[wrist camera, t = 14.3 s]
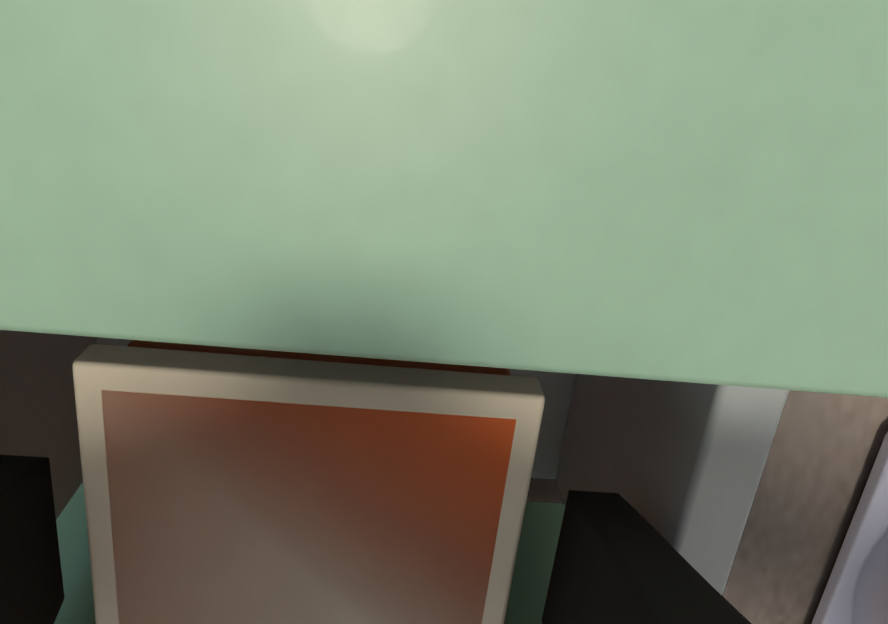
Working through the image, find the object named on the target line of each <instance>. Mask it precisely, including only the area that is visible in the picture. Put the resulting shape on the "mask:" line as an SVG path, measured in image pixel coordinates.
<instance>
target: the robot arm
mask: <svg viewBox="0 0 888 624" xmlns="http://www.w3.org/2000/svg"><path fill="white" fill-rule="evenodd" d="M64 598H65V597H64V588H63V579H62V570H61V561H60V552H59V543H58V534H57V525H56V516H55V507H54V498H53V489H52V480H51V471H50V462H49V458H48V457H32V456H16V455H0V624H54V622H55V620H56V617H57V615H58V613H59V610H60V608H61V605H62V603H63V601H64ZM542 624H751V623H750V622H749V621H748V620H747V619H746V618H745V617H744V616H743V615H741V614H740V613H739V612H738V611H737V610H736V609H735V608H734V607H733V606H732V605H731V604H730V603H729V602H728V601H727V600H726V599H725V598H724V597H723V596H722V595H721V594H720V593H719V592H718V591H717V590H715V589H714V588H713V587H712V586H711V585H710V584H709V583H708V582H707V581H706V580H705V579H704V578H703V577H702V576H701V575H700V574H699V573H698V572H697V571H696V570H695V569H694V568H693V567H692V566H691V565H690V564H689V563H688V562H687V561H686V560H685V559H684V558H683V557H682V556H681V555H680V554H679V553H678V552H677V551H676V550H675V549H674V548H673V547H672V546H671V545H670V544H669V543H668V542H667V541H666V540H665V539H664V538H663V537H662V536H661V535H660V534H659V533H658V532H657V531H656V530H655V529H654V528H653V527H652V526H651V525H650V524H649V523H648V522H647V521H646V520H645V519H644V518H643V517H642V516H641V515H640V514H639V513H638V512H637V511H636V510H635V509H634V508H633V507H632V506H631V505H630V504H629V503H628V502H627V501H626V500H625V499H624V498H623V497H622V496H621V495H619V494H618V493H607V492H591V491H575V490H569V492H568V496H567V501H566V506H565V511H564V515H563V520H562V525H561V530H560V535H559V539H558V544H557V549H556V554H555V559H554V563H553V568H552V573H551V578H550V583H549V587H548V592H547V597H546V602H545V606H544V611H543V616H542ZM812 624H888V432H887V433H886V435H885V437H884V440H883V442H882V445H881V447H880V450H879V453H878V455H877V458H876V460H875V463H874V465H873V468H872V470H871V473H870V476H869V478H868V481H867V483H866V486H865V488H864V491H863V493H862V496H861V498H860V501H859V504H858V506H857V509H856V511H855V514H854V516H853V519H852V521H851V524H850V527H849V529H848V532H847V534H846V537H845V539H844V542H843V544H842V547H841V550H840V552H839V555H838V557H837V560H836V562H835V565H834V567H833V570H832V573H831V575H830V578H829V580H828V583H827V585H826V588H825V590H824V593H823V596H822V598H821V601H820V603H819V606H818V608H817V611H816V613H815V616H814V618H813V621H812Z"/></svg>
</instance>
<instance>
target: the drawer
mask: <svg viewBox="0 0 888 624" xmlns="http://www.w3.org/2000/svg"><path fill="white" fill-rule="evenodd" d="M131 341H132V340H127V339H114V338H101V337H88V336H74V335H61V334H48V333H35V332H22V331H9V330H0V455H16V456H32V457H48V458H49V462H50V471H51V480H52V489H53V498H54V507H55V516H56V525H57V534H58V543H59V552H60V561H61V570H62V579H63V588H64V597H65V598H64V601H63V603H62V605H61V608H60V610H59V613H58V615H57V617H56V620H55V622H54V624H96V621H95V610H94V599H93V588H92V577H91V566H90V555H89V544H88V533H87V522H86V510H85V499H84V488H83V477H82V466H81V455H80V444H79V433H78V422H77V411H76V400H75V389H74V378H73V363H74V361H75V360H76V359H77V358H78V357H79V356H80V355H81V354H82V352H83V351H84V350H85V349H86V348H87V347H88V346H89V345H92V344H103V345H116V346H127V345H128V344H129V343H130V342H131ZM509 370H510V373H511V376H522V377H534V378H536V379H538V381H539V383H540V386H541V389H542V391H543V394H544V397H545V404H544V410H543V415H542V420H541V426H540V431H539V437H538V442H537V447H536V453H535V458H534V464H533V469H532V474H531V478H542V479H556V481H557V484H558V487H559V490H560V493H561V496H562V499H563V503H564V504H562V503H545V502H529V501H526V507H525V512H524V518H523V523H522V529H521V534H520V539H519V545H518V550H517V556H516V561H515V566H514V572H513V577H512V583H511V588H510V593H509V599H508V604H507V610H506V615H505V620H504V624H542V616H543V611H544V606H545V602H546V597H547V592H548V587H549V583H550V578H551V573H552V568H553V563H554V559H555V554H556V549H557V544H558V539H559V535H560V530H561V525H562V520H563V515H564V511H565V506H566V501H567V496H568V492H569V490H575V491H591V492H607V493H618V494H619V495H621V496H622V497H623V498H624V499H625V500H626V501H627V502H628V503H629V504H630V505H631V506H632V507H633V508H634V509H635V510H636V511H637V512H638V513H639V514H640V515H641V516H642V517H643V518H644V519H645V520H646V521H647V522H648V523H649V524H650V525H651V526H652V527H653V528H654V529H655V530H656V531H657V532H658V533H659V534H660V535H661V536H662V537H663V538H664V539H665V540H666V541H667V542H668V543H669V544H670V545H671V546H672V547H673V548H674V549H675V550H676V551H677V552H678V553H679V554H680V555H681V556H682V557H683V558H684V559H685V560H686V561H687V562H688V563H689V564H690V565H691V566H692V567H693V568H694V569H695V570H696V571H697V572H698V573H699V574H700V575H701V576H702V577H703V578H704V579H705V580H706V581H707V582H708V583H709V584H710V585H711V586H712V587H713V588H714V589H715V590H717V591H718V592H719V593H720V594H721V595H723V592H724V589H725V586H726V583H727V580H728V577H729V574H730V571H731V568H732V565H733V561H734V558H735V555H736V552H737V549H738V546H739V543H740V540H741V537H742V534H743V531H744V528H745V525H746V522H747V518H748V515H749V512H750V509H751V506H752V503H753V500H754V497H755V494H756V491H757V488H758V485H759V482H760V479H761V475H762V472H763V469H764V466H765V463H766V460H767V457H768V454H769V451H770V448H771V445H772V442H773V439H774V435H775V432H776V429H777V426H778V423H779V420H780V417H781V414H782V411H783V408H784V405H785V402H786V399H787V396H788V392H789V390H780V389H767V388H754V387H741V386H728V385H715V384H702V383H689V382H676V381H663V380H650V379H637V378H624V377H610V376H597V375H584V374H571V373H558V372H545V371H532V370H519V369H509Z"/></svg>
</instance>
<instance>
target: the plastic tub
mask: <svg viewBox="0 0 888 624" xmlns="http://www.w3.org/2000/svg"><path fill="white" fill-rule="evenodd" d="M73 378H74V389H75V400H76V411H77V422H78V433H79V444H80V455H81V466H82V477H83V488H84V499H85V510H86V522H87V533H88V544H89V555H90V566H91V577H92V588H93V599H94V610H95V621H96V624H504V620H505V615H506V610H507V604H508V599H509V593H510V588H511V583H512V577H513V572H514V566H515V561H516V556H517V550H518V545H519V539H520V534H521V529H522V523H523V518H524V512H525V507H526V501H527V496H528V491H529V485H530V480H531V474H532V469H533V464H534V458H535V453H536V447H537V442H538V437H539V431H540V426H541V420H542V415H543V410H544V404H545V397H544V394H543V391H542V389H541V386H540V383H539V381H538V379H536V378H534V377H522V376H511V373H510V370H509V369H506V368H493V367H480V366H467V365H454V364H441V363H427V362H414V361H401V360H388V359H375V358H362V357H349V356H336V355H323V354H310V353H297V352H284V351H271V350H258V349H244V348H231V347H218V346H205V345H192V344H179V343H166V342H153V341H140V340H132V341H131V342H130V343H129V344H128V345H127V346H116V345H103V344H92V345H89V346H88V347H87V348H86V349H85V350H84V351H83V352H82V354H81V355H80V356H79V357H78V358H77V359H76V360H75V361H74V363H73Z"/></svg>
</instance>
